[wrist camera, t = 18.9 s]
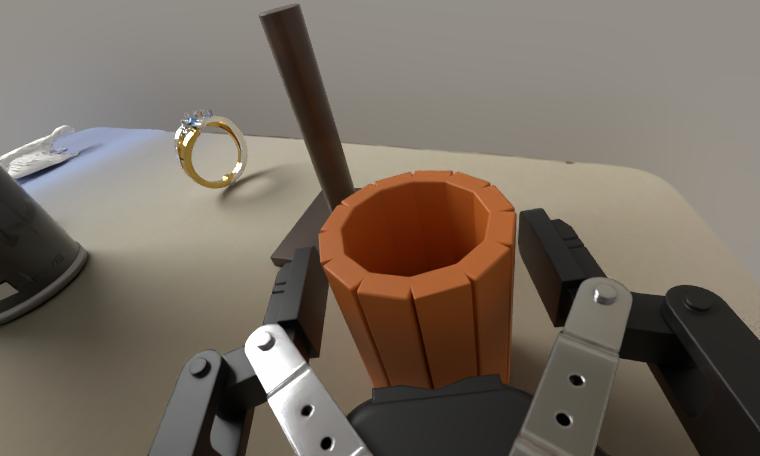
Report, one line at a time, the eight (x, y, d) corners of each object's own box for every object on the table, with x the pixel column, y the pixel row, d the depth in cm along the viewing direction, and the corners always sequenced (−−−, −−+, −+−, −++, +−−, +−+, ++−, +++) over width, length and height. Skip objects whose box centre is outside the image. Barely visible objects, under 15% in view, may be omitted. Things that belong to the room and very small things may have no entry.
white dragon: (-36, 209, 49) (-64, 184, 47) (-43, 195, 55) (-69, 172, 53) (97, 148, 59) (79, 125, 57) (78, 141, 65) (61, 120, 62)
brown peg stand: (274, 265, 26) (153, 45, 17) (326, 194, 32) (258, 6, 23) (387, 278, 23) (313, 13, 14) (421, 196, 29) (386, -23, 20)
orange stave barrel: (360, 421, 16) (283, 282, 10) (399, 311, 20) (360, 170, 15) (503, 463, 14) (506, 313, 8) (513, 330, 18) (520, 169, 12)
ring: (249, 165, 41) (215, 97, 36) (265, 170, 39) (232, 98, 34) (196, 198, 37) (150, 127, 32) (210, 205, 35) (164, 130, 30)
